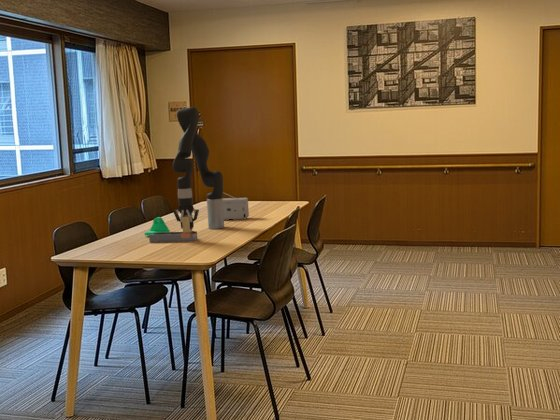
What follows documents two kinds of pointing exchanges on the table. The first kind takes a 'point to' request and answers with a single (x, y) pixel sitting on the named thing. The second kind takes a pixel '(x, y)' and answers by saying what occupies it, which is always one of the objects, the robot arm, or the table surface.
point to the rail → (173, 237)
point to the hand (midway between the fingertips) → (187, 228)
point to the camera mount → (158, 226)
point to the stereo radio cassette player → (235, 208)
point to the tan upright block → (186, 224)
